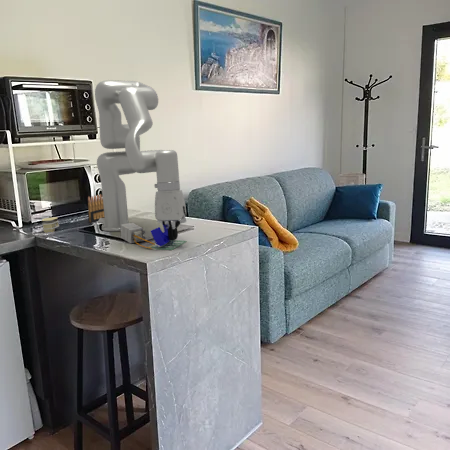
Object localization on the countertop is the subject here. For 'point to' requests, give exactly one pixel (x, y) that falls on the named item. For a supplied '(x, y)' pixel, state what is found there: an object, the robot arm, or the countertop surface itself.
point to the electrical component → (133, 234)
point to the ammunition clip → (95, 208)
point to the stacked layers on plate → (50, 224)
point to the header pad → (168, 245)
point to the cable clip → (160, 236)
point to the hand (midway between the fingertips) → (173, 239)
